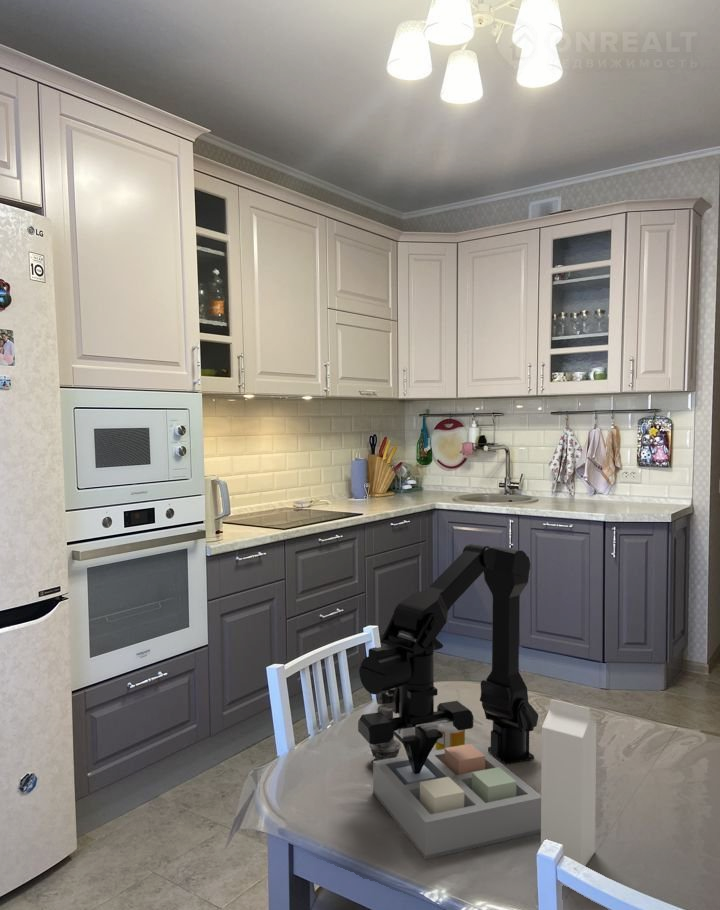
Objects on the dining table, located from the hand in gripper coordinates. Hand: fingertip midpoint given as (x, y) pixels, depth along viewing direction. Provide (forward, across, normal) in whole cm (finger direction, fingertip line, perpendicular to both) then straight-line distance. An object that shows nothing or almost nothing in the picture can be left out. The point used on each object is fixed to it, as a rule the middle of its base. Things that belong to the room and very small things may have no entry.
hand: (416, 772), depth 113 cm
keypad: (+5, -4, +5) cm, 8 cm away
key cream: (+2, 0, +9) cm, 9 cm away
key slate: (+4, 0, 0) cm, 4 cm away
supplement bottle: (+5, -12, -11) cm, 18 cm away
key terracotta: (+2, -9, 0) cm, 9 cm away
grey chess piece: (+5, 0, -14) cm, 15 cm away
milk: (+5, -14, +21) cm, 26 cm away
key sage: (+2, -9, +9) cm, 13 cm away
